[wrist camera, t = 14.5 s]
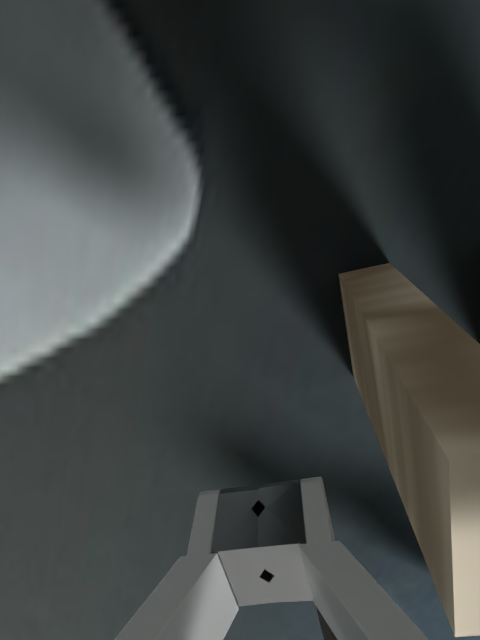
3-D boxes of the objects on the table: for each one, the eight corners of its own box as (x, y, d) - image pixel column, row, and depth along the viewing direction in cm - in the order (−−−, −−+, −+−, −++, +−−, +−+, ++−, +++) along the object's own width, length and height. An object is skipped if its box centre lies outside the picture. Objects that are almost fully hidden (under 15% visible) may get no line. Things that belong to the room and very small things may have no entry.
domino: (353, 377, 17) (455, 636, 8) (338, 273, 15) (449, 459, 6) (399, 369, 17) (559, 630, 8) (389, 262, 15) (588, 441, 6)
